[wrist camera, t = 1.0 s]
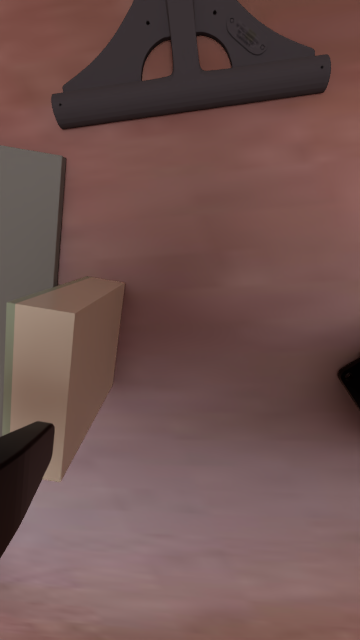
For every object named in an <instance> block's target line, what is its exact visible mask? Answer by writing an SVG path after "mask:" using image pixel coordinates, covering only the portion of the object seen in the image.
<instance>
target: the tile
mask: <svg viewBox="0 0 360 640" xmlns="http://www.w3.org/2000/svg"><path fill="white" fill-rule="evenodd" d="M124 288H125V283H124V282H118V281H112V280H106V279H100V278H94V277H88V276H87V277H83V278H80V279H77V280H74V281H71V282H68V283H65V284H62V285H59V286H56V287H53V288H49V289H46V290H43V291H40V292H37V293H34V294H31V295H28V296H25V297H22V298H18V299H15V300H12V301H9V302H7V305H6V335H5V364H4V394H3V423H2V436H3V435H6V434H8V433H10V432H13V431H15V430H17V429H20V428H22V427H24V426H27V425H29V424H31V423H34V422H36V421H42V422H47V423H52V424H53V425H54V427H55V434H54V444H53V454H52V458H51V461H50V464H49V466H48V468H47V470H46V472H45V474H44V476H43V478H42V479H43V480H49V481H56V482H61V480H62V478H63V477H64V475H65V473H66V471H67V469H68V467H69V465H70V464H71V462H72V460H73V458H74V456H75V454H76V452H77V451H78V449H79V447H80V445H81V443H82V441H83V439H84V438H85V436H86V434H87V432H88V430H89V428H90V426H91V424H92V423H93V421H94V419H95V417H96V415H97V413H98V411H99V410H100V408H101V406H102V404H103V402H104V400H105V398H106V397H107V395H108V393H109V391H110V389H111V387H112V385H113V379H114V370H115V362H116V354H117V346H118V338H119V329H120V321H121V313H122V305H123V297H124Z"/></svg>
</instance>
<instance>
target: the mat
mask: <svg viewBox="0 0 360 640" xmlns="http://www.w3.org/2000/svg"><path fill="white" fill-rule="evenodd" d="M65 167H66V158H64V157H63V156H60V155H54V154H48V153H42V152H36V151H30V150H25V149H19V148H13V147H7V146H1V145H0V437H1V436H2V423H3V394H4V364H5V335H6V305H7V302H9V301H12V300H15V299H18V298H22V297H25V296H28V295H31V294H34V293H37V292H40V291H43V290H46V289H49V288H53V287H56V286H57V279H58V265H59V251H60V237H61V223H62V209H63V195H64V181H65Z"/></svg>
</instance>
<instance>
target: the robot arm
mask: <svg viewBox="0 0 360 640" xmlns="http://www.w3.org/2000/svg"><path fill="white" fill-rule="evenodd" d="M347 373H350V376H349V377H347V378H345V375H346V374H347ZM338 377H339V379H340V381H341V382H342V384H343V385H344V387H345V388H346V390H347V391H348V393H349V394H350V396H351V398H352V399H353V401H354V402H355V404H356V405H357V407H358V408H359V410H360V358H358V359H357V360H355V361H353V362H352V363H350V364H348V365H347V366H345V367H343V368H342V369H341V370H340V371H339V373H338ZM54 434H55V427H54V425H53V424H52V423H47V422H42V421H36V422H34V423H31V424H29V425H27V426H24V427H22V428H20V429H17V430H15V431H13V432H10V433H8V434H6V435H3V436H1V437H0V558H1V556H2V554H3V553H4V551H5V550H6V548H7V546H8V545H9V543H10V541H11V540H12V538H13V536H14V535H15V533H16V531H17V529H18V528H19V526H20V524H21V522H22V520H23V518H24V516H25V514H26V512H27V510H28V508H29V506H30V504H31V501H32V499H33V497H34V495H35V493H36V491H37V489H38V487H39V485H40V483H41V480H42V478H43V476H44V474H45V472H46V470H47V468H48V466H49V464H50V461H51V458H52V454H53V444H54Z"/></svg>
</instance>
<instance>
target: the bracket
mask: <svg viewBox="0 0 360 640" xmlns="http://www.w3.org/2000/svg"><path fill="white" fill-rule="evenodd" d="M214 14H215V15H214ZM148 24H149V25H148ZM199 35H203V36H207V37H210V38H212V39H214V40H216V41H217V42H218V43H220V44H221V45H222V47H223V48H224V49H225V51H226V52H227V54H228V57H229V59H230V62H231V66H232V68H229V69H221V70H211V71H204V70H202V69H201V68H200V65H199V59H198V50H197V40H196V36H199ZM166 40H171V45H172V55H173V72H172V74H171V75H170V76H167V77H163V78H158V79H153V80H146V81H142V71H143V66H144V63H145V60H146V58H147V56H148V55H149V53H150V52H151V51H152V49H153V48H154V47H156V46H157V45H158V44H160V43H161V42H163V41H166ZM330 73H331V61H330V57H329V55H327V54H326V55H319V56H315V51H314V49H312V48H310V47H307V46H304V45H302V44H299V43H297V42H294V41H292V40H290V39H287V38H285V37H283V36H281V35H279V34H278V33H276V32H274V31H273V30H271V29H269V28H268V27H266V26H265V25H264V24H262V23H261V22H259V21H258V20H257V19H256V18H254V17H253V16H252V15H251V14H250V13H249V12H248V11H247V10H246V9H245V8H244V7H243V6H242V5H241V4H240V3H239V2H238V1H237V0H134V1H133V4H132V6H131V8H130V9H129V11H128V13H127V15H126V17H125V18H124V20H123V22H122V24H121V25H120V27H119V29H118V30H117V32H116V33H115V35H114V36H113V38H112V39H111V41H110V42H109V43H108V45H107V46H106V47H105V48H104V50H103V51H102V52H101V53H100V54H99V55H98V56H97V58H96V59H95V60H94V61H93V62H92V63H91V64H90V65H88V66H87V67H86V68H85V69H84V70H83V71H81V72H80V73H79V74H78V75H77V76H75V77H74V78H73V79H71V80H70V81H69V82H67V83H66V84H65V85H64V86H63V93H57V94H52V97H51V102H52V108H53V112H54V115H55V118H56V120H57V122H58V124H59V126H60V127H61V128H62V129H66V128H73V127H80V126H87V125H94V124H101V123H109V122H116V121H123V120H130V119H137V118H144V117H152V116H159V115H166V114H173V113H180V112H187V111H195V110H202V109H209V108H216V107H223V106H230V105H237V104H245V103H252V102H259V101H266V100H273V99H280V98H288V97H295V96H302V95H309V94H316V93H322V92H324V91H325V89H326V88H327V85H328V82H329V78H330Z"/></svg>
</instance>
